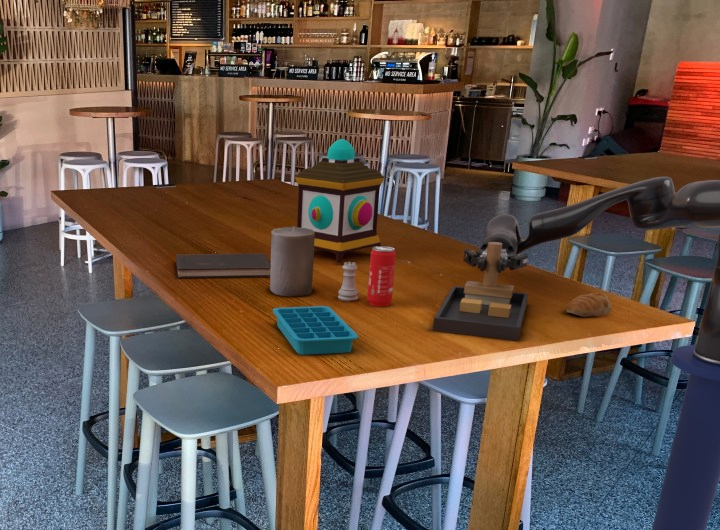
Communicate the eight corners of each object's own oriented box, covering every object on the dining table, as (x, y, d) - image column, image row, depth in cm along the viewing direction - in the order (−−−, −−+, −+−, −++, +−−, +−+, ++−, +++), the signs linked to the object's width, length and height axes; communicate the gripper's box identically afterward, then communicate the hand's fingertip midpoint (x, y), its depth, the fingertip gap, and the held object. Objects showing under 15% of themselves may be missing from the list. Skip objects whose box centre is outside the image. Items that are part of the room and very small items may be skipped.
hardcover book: (272, 276, 192) (272, 267, 191) (177, 278, 191) (177, 268, 190) (264, 261, 207) (264, 252, 206) (176, 262, 206) (176, 254, 205)
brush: (464, 297, 172) (472, 239, 167) (511, 302, 169) (520, 243, 164) (462, 302, 169) (469, 243, 164) (510, 307, 165) (519, 247, 160)
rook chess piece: (362, 300, 173) (364, 264, 170) (346, 302, 171) (348, 266, 168) (349, 295, 177) (351, 260, 174) (333, 298, 174) (335, 262, 171)
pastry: (585, 320, 159) (588, 302, 157) (555, 312, 164) (558, 294, 163) (613, 313, 163) (616, 295, 162) (584, 305, 169) (587, 288, 167)
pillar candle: (319, 289, 181) (323, 224, 175) (299, 299, 174) (302, 231, 168) (282, 283, 186) (284, 219, 180) (261, 292, 179) (263, 226, 173)
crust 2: (489, 311, 163) (490, 302, 162) (510, 314, 161) (511, 304, 160) (487, 315, 160) (489, 306, 159) (508, 318, 159) (510, 308, 158)
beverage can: (380, 308, 167) (385, 252, 162) (361, 303, 171) (366, 248, 166) (396, 304, 170) (401, 249, 165) (377, 299, 174) (381, 244, 169)
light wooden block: (461, 307, 166) (462, 298, 165) (481, 309, 164) (482, 300, 163) (459, 311, 163) (460, 301, 162) (479, 313, 162) (480, 304, 161)
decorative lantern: (283, 253, 215) (286, 138, 204) (330, 243, 227) (336, 134, 216) (340, 266, 201) (347, 144, 190) (387, 255, 213) (397, 139, 202)
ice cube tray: (295, 356, 140) (296, 340, 138) (270, 322, 158) (271, 308, 157) (359, 353, 141) (360, 337, 140) (327, 320, 160) (328, 305, 158)
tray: (451, 297, 175) (452, 285, 174) (526, 305, 169) (528, 293, 168) (432, 330, 153) (434, 317, 152) (518, 341, 147) (520, 327, 146)
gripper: (529, 269, 177) (524, 288, 162) (464, 263, 182) (453, 281, 167) (534, 236, 174) (529, 252, 159) (468, 231, 179) (457, 246, 164)
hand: (490, 267), depth 163 cm, fingers closed on brush, 3 cm apart
